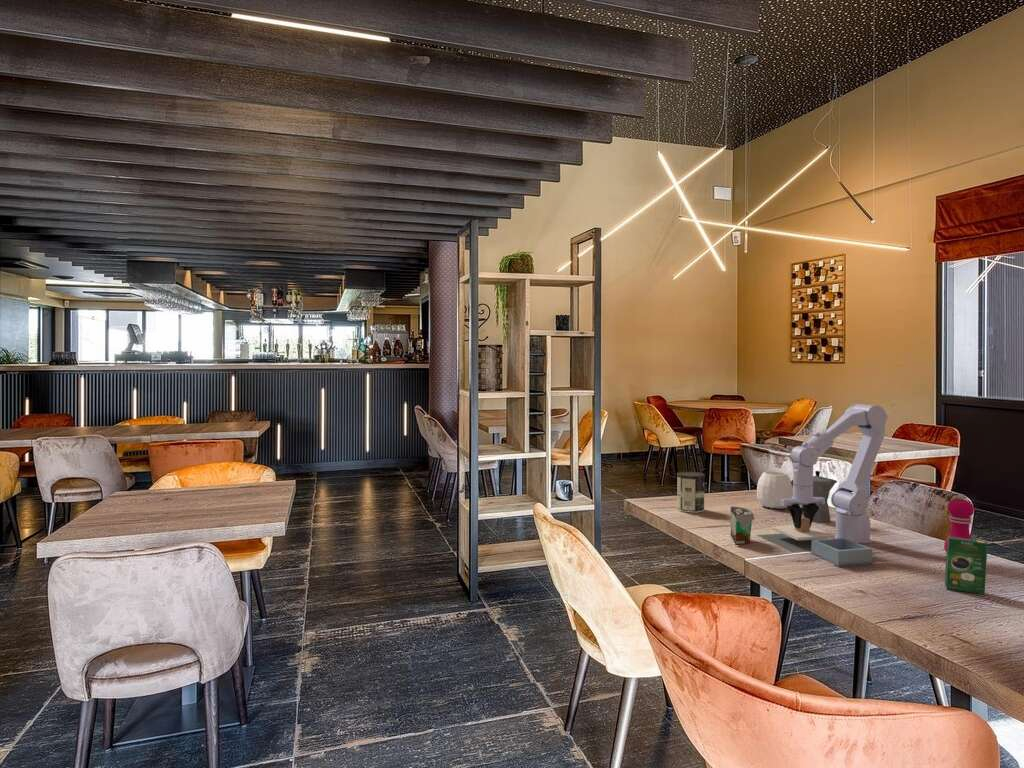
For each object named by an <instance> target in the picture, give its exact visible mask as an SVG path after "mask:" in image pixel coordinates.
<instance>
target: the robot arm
mask: <svg viewBox="0 0 1024 768" xmlns="http://www.w3.org/2000/svg"><path fill="white" fill-rule="evenodd" d="M888 418H889V416H888V414H887V412H886V410H885V409H884V408H883V407H882V406H881V405H877V404H875V405H874V404H873V405H872V404H862V403H860V402H859V403H853V404H852V405H851V406H850V407H849V408H846V409H845V412H844V414H842V415H841V416H840V417H839V418H837V420H836V421H835V422H834V423H833V424H832V425H831V426H829V427H828V428H827V429H826V430H825V431H821V430H819V431H815V432H814V433H812V436H811V437H810V438H809V439H807V440H806V441H803V442H802V444H801V446H800V445H798V446H795V447H793V448H792V450H791V452H790V454H789V455H788V457H789V460H790V461H791V463H792V480H793V496H792V497H791V498H786V499H780V505H782V506H784V507H785V506H787V508H786V509H788V511H789V513H790V517H791V519H792V522H793V525H794V527H795V528H798V529H800V528H801V517H803V516H804V517H805V518H808V519H810V527H811V526H812V523H813V522H812V521H813V518H814V516H815V514H816V512H817V511H818V510H819V506H817V505H816V504H825V498H823V497H813V476H814V466H815V465H816V464H817V463H818V461H819V457H821V455H823V454H824V453H825V452H827V450H828V449H830V448H831V447H832V446H833V445H834V440H835V439H837V438H838V437H839V436H841V435H842V434H843V433H845V432H847V431H848V430H850V429H851V428H852V427H855V426H856V428H858V429H859V430H860V433H862V438H861V441H860V443H859V445H858V448H857V451H856V454H855V456H854V457H853V458H854V459H853V461H852V464H851V466H850V469H849V472H848V474H847V476H846V479H845V480H844V481H842V482H840V483H839V484H838V485H837V488H836V489H835V490H834V492H832V493H831V497H830V502H831V504H832V506H834V511H835V534H834V535H835V538H846V539H849V540H851V541H854V542H856V543H859V544H864V543H872V542H873V541H872V540H871V519H870V517H869V515H868V514H866V513H865V512H866V510H867V509H868V503H869V502H868V499H869V495H870V493H869V492H868V490H867V489H866V485H867V483H868V480H869V477H870V475H871V472H872V469H873V467H874V465H875V462H876V460H877V457H878V454H879V451H880V449H881V446H882V443H883V441H884V437H885V435H886V431H885V427H886V423H887V420H888Z"/></svg>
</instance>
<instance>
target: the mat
mask: <svg viewBox="0 0 1024 768" xmlns="http://www.w3.org/2000/svg"><path fill="white" fill-rule="evenodd" d="M756 537H759V538H762V539H763V540H767V541H768V542H770V543H772V544H774V545H777V546H778V547H781V548H782V549H784V550H787V551H790V552H791V553H797V552H798V553H800V552H811V545H812V540H817V539H811V540H795V539H793V538H791V537H789V536H786V535H784V534H782V533H770V534H766V533H765V534H756ZM825 539H828V538H825Z"/></svg>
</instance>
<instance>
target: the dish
mask: <svg viewBox="0 0 1024 768" xmlns="http://www.w3.org/2000/svg"><path fill="white" fill-rule="evenodd" d="M873 549H874V548H871V547H869V546H867V545H864V544H862V543H856V542H854V541H851V540H849V539H846V538H827V539H817V540H812V545H811V551H810V552H811V553H810V554H811V555H813V556H815V557H818V558H820V559H822V560H824V561H827V562H829V563H831V564H833V565H834V567H837V568H845V567H858V566H859V565H860V566H869V565H873V553H874V552H873Z"/></svg>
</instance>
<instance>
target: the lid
mask: <svg viewBox="0 0 1024 768" xmlns="http://www.w3.org/2000/svg"><path fill="white" fill-rule="evenodd" d="M770 527H771V530H773V531H775V532H778V534H784V535H786V536H789V537H791V538H793V539H795V540H811V539H825V538H827V539H832V538H835V535H836V534H832V533H830V532H828V531H825V530H823V529H820V528H817V527H815V526H813V525H811V527H810V519H808V518H805V517H803V516H802V517H801V528H800V529H798V528H795V527H794V524H789V525H775V526H773V525H772V526H770Z"/></svg>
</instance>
